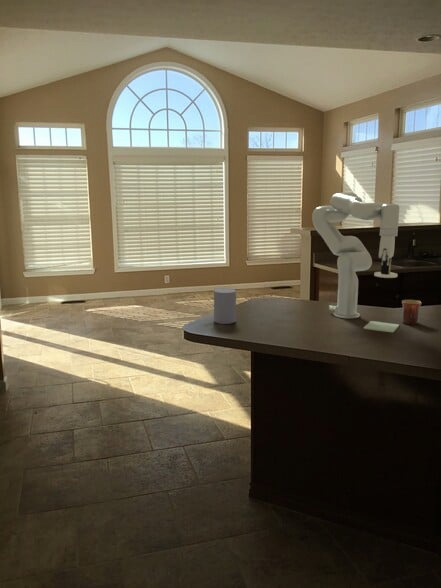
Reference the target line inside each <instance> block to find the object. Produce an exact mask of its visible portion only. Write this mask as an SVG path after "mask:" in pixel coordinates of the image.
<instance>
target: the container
mask: <svg viewBox="0 0 441 588" xmlns="http://www.w3.org/2000/svg"><path fill="white" fill-rule="evenodd" d="M236 305H237V290H236V289H233V288H225V287H224V288H216V289H214V290H213V322H214V323H215V324H218V325H230V324H234V323H236V319H237V317H236V316H237V312H236V311H237V306H236Z"/></svg>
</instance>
